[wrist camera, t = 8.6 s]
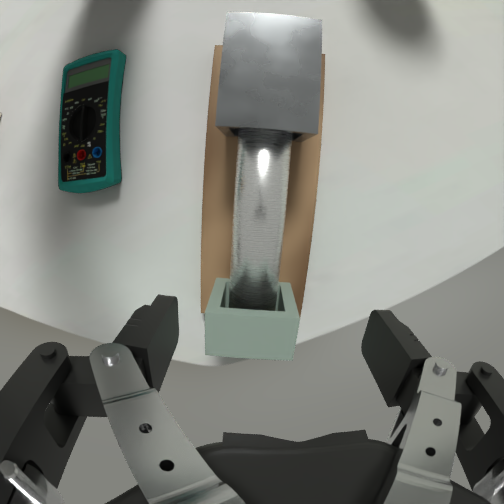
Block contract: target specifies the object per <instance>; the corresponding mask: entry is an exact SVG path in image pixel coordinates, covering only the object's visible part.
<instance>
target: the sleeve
mask: <svg viewBox="0 0 504 504" xmlns="http://www.w3.org/2000/svg"><path fill="white" fill-rule="evenodd" d="M321 57H322V20H319V19H313V18H306V17H299V16H291V15H282V14H271V13H256V12H227V16H226V23H225V31H224V40H223V48H222V57H221V66H220V76H219V86H218V97H217V109H216V121H215V126H216V127H217V128H218V129H219V130H220V131H221V132H222V133H223V134H224V135H225V136H231V137H238V132H239V128H240V129H257V130H270V131H281V132H291V133H292V141H296V142H303V141H305V140H307V139H309V138H311V137H313V136H315V135H317V134H318V126H319V109H320V88H321Z"/></svg>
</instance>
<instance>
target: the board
mask: <svg viewBox="0 0 504 504" xmlns="http://www.w3.org/2000/svg"><path fill="white" fill-rule="evenodd" d="M222 48H223V45H215V50H214V58H213V67H212V77H211V86H210V97H209V108H208V120H207V133H206V147H205V163H204V182H203V204H202V236H201V313H205V310H206V307H207V304H208V301H209V298H210V295H211V292H212V289H213V286H214V283H215V280H216V278H228V279H230V264H231V244H232V225H233V208H234V191H235V175H236V160H237V146H238V137H231V136H225V135H224V134H223V133H222V132H221V131H220V130H219V129H218V128H217V127H216V126H215V121H216V109H217V97H218V86H219V76H220V66H221V57H222ZM324 77H325V54H322V57H321V88H320V109H319V126H318V134H317V135H315V136H313V137H311V138H309V139H307V140H305V141H303V142H296V141H292V144H291V157H290V170H289V182H288V193H287V205H286V216H285V226H284V236H283V246H282V256H281V265H280V274H279V282H288V283H290V284H291V288H292V291H293V295H294V298H295V302H296V306H297V309H298V313H299V317H300V315H301V309H302V303H303V297H304V290H305V283H306V277H307V270H308V262H309V255H310V247H311V239H312V231H313V223H314V214H315V205H316V195H317V185H318V174H319V163H320V150H321V136H322V121H323V102H324Z"/></svg>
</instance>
